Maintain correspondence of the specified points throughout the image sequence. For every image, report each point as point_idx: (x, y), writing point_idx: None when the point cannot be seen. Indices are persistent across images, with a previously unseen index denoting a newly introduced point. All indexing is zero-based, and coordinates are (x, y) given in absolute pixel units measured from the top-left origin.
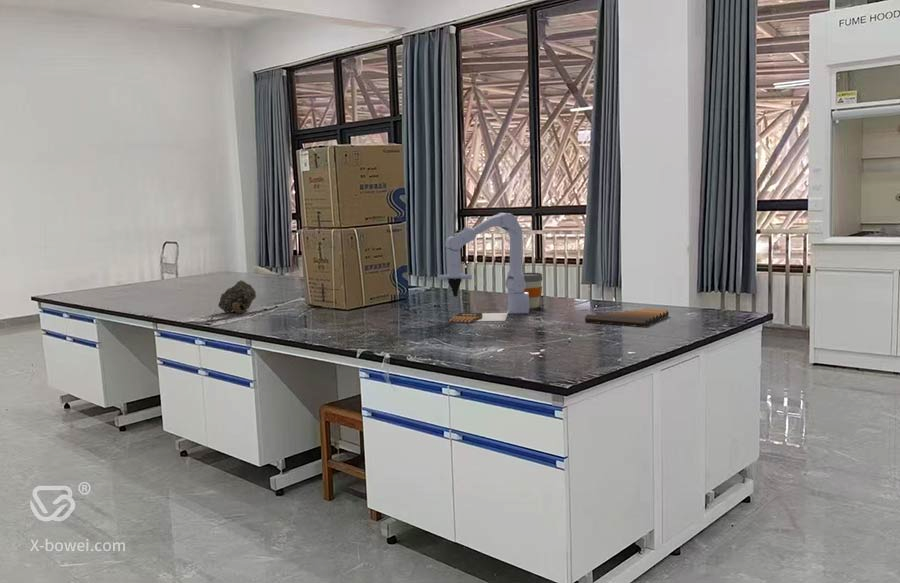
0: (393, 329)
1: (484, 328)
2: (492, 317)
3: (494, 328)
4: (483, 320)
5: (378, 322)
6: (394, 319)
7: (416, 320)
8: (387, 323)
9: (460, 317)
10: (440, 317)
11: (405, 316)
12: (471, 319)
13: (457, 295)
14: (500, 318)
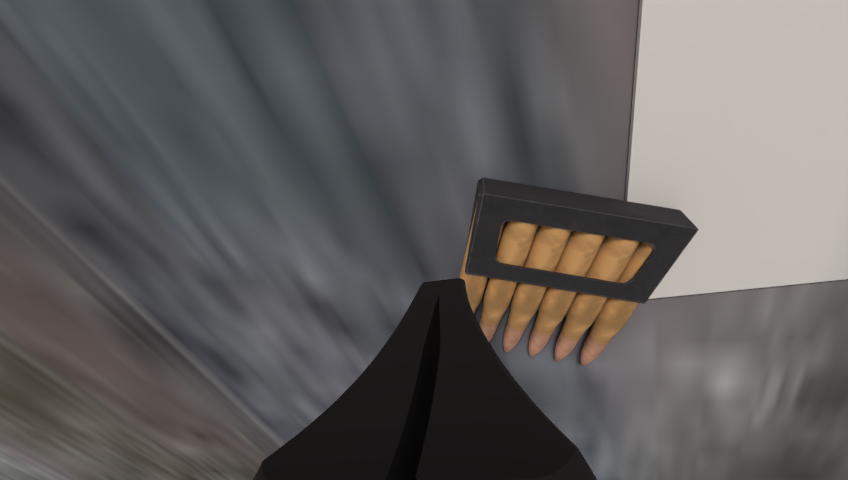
0: (265, 449)
1: (680, 435)
2: (773, 173)
3: (735, 435)
4: (683, 288)
5: (66, 340)
6: (65, 264)
7: (220, 284)
8: (134, 358)
9: (513, 290)
10: (313, 173)
11: (27, 156)
12: (605, 345)
13: (464, 283)
14: (840, 211)
